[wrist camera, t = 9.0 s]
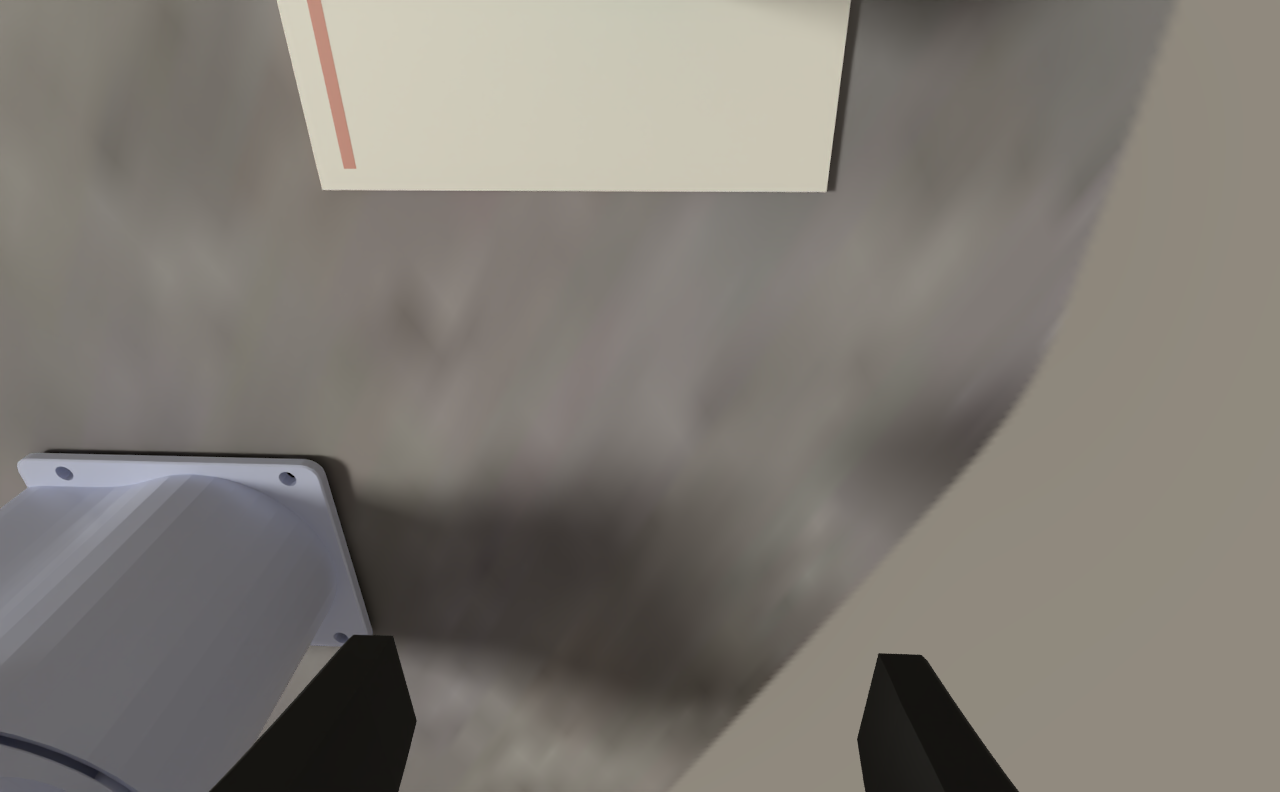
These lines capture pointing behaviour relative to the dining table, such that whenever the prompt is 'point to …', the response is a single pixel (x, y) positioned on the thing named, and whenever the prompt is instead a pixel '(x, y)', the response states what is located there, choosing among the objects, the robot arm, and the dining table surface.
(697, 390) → the dining table surface
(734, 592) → the dining table surface
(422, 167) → the paper
